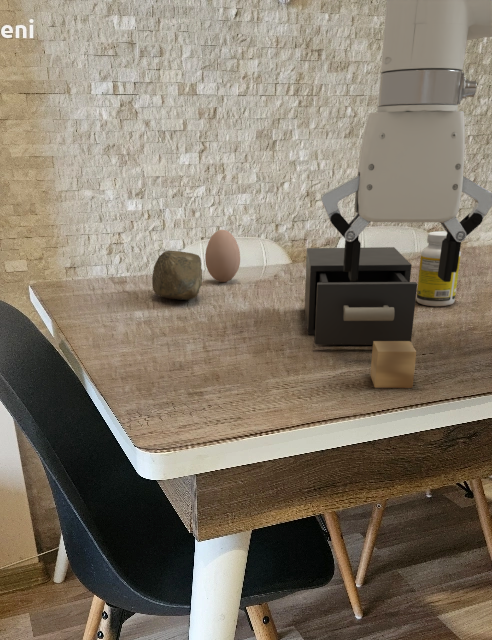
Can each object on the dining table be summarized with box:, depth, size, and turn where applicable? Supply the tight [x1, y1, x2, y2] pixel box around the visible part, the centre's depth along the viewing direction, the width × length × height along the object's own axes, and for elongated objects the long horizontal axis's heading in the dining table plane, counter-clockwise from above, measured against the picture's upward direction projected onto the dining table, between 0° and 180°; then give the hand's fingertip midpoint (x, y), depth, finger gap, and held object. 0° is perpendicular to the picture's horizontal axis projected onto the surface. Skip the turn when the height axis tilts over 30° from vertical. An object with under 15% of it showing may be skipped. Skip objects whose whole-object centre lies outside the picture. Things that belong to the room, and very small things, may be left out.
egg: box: [204, 229, 241, 283], centre depth 129 cm, size 7×7×10 cm
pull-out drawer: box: [314, 271, 418, 346], centre depth 90 cm, size 19×12×8 cm, turn 175°
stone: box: [151, 250, 203, 301], centre depth 117 cm, size 17×9×8 cm, turn 20°
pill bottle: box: [416, 230, 462, 307], centre depth 109 cm, size 6×6×11 cm
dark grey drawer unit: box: [304, 246, 413, 336], centre depth 99 cm, size 16×14×10 cm
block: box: [370, 341, 417, 389], centre depth 76 cm, size 4×4×4 cm
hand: (398, 279), depth 71 cm, fingers open, 9 cm apart
